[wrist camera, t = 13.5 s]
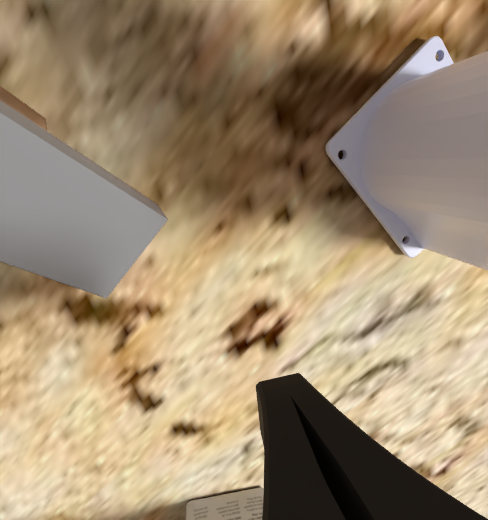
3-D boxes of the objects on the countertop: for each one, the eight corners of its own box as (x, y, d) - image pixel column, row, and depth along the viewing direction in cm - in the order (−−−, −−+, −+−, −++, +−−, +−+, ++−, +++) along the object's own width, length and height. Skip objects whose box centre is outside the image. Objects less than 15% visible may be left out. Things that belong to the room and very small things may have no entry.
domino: (167, 219, 14) (-98, 50, 8) (106, 298, 14) (-186, 197, 8) (157, 204, 15) (-75, 51, 9) (101, 276, 16) (-151, 176, 10)
